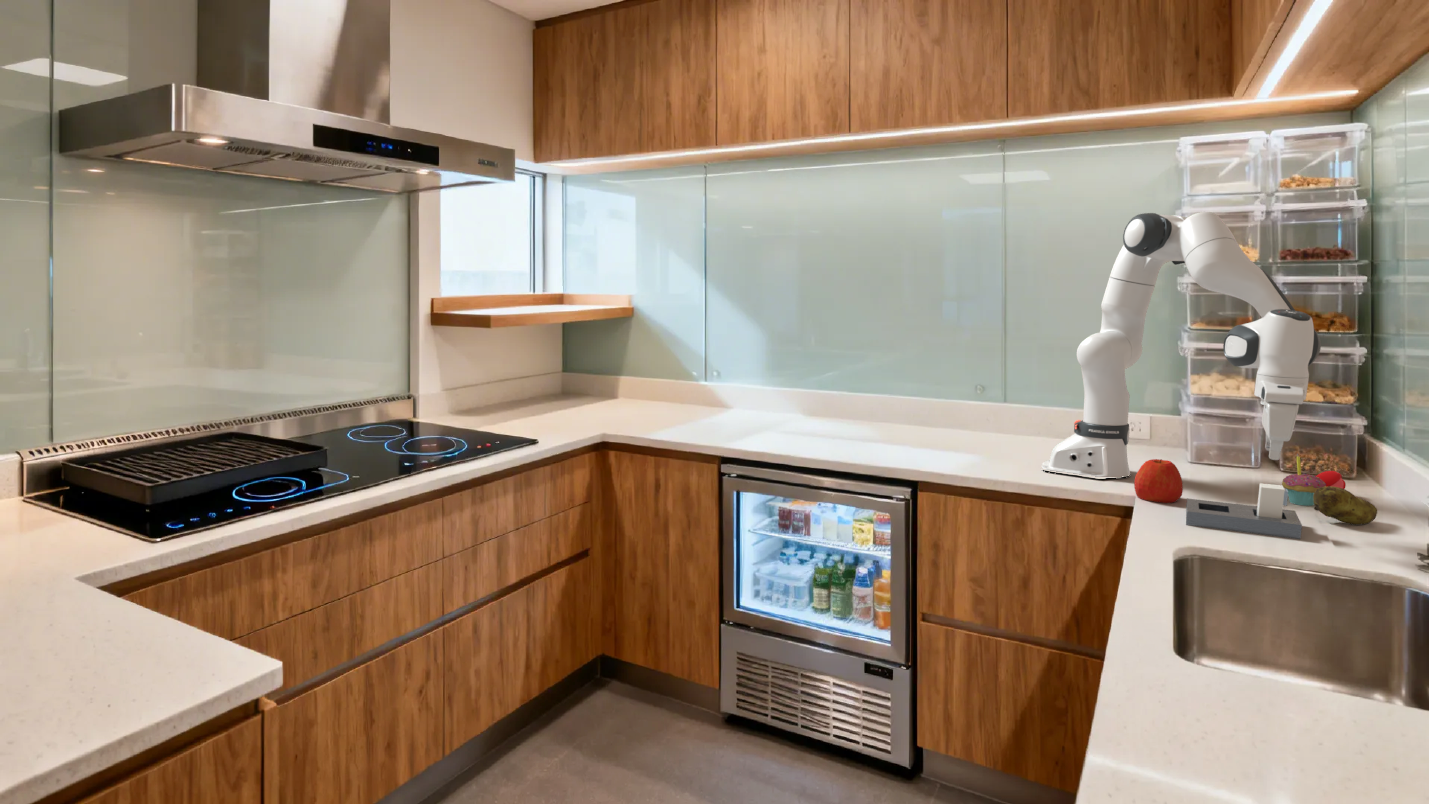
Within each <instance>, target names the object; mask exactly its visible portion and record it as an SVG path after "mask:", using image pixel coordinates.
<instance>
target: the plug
mask: <svg viewBox="0 0 1429 804" xmlns="http://www.w3.org/2000/svg"><path fill="white" fill-rule="evenodd" d="M1257 497H1258V499H1257V516H1262V517H1270V518H1279V519H1282V510H1283V509H1284V507H1285V506H1287V505H1288V498H1289V497H1288V491H1287V489H1286V488H1284V487H1283V486H1282V484H1281V485H1280V484H1269V483H1262V482H1260V483H1259V488H1258V496H1257Z"/></svg>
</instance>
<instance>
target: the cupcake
mask: <svg viewBox="0 0 1429 804" xmlns="http://www.w3.org/2000/svg"><path fill="white" fill-rule="evenodd" d="M1296 466H1297V467H1296V468H1297V473H1294V474H1293V473H1292V474H1288V475H1285V477H1284V478H1283V479H1282V482H1281V485H1282V486H1283V487H1284V489H1287V491H1288V497H1287V498H1288V502H1289V503H1291V504H1293V505H1297V506H1304V507H1305V506H1306V507H1309V506H1310V507H1311V506H1315V505H1314V502H1313V494H1314V493H1315V491H1316V490H1317V489H1320V488H1323V487H1326V484H1325V482H1324V481H1322V480H1321V479H1320V478H1318V477H1316V476H1317V475H1315V474H1309V473H1302V468H1301V466H1302V465H1301V457H1300V456H1299V453H1298V452H1297V453H1296Z"/></svg>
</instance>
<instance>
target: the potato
mask: <svg viewBox="0 0 1429 804" xmlns="http://www.w3.org/2000/svg"><path fill="white" fill-rule="evenodd" d="M1313 502H1314V505H1313V506H1314V508H1313V509H1314V511H1316V512H1320V513H1321V514H1322V515H1324V516H1326V517H1327V518H1332V519H1335V520H1336V521H1338V522H1341V523H1342V524H1343V523H1344V524H1347V525H1352V524H1353V525H1354V526H1362V525H1366V524H1369V523H1370V524H1371V522H1374V520H1376V518H1377V515H1378V509H1377V507H1376V506H1375V505H1374V503H1371V502H1370V501H1367V500H1366V499H1363V498H1360V497H1358V496H1356V495H1355V494H1353V493H1352V492H1350V491H1349V490H1347V489H1343V488H1339V487H1332V486H1328V487H1323V488H1320V489H1317V490H1316V491H1315V493H1314V494H1313ZM1361 524H1362V525H1361Z"/></svg>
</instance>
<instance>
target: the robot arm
mask: <svg viewBox="0 0 1429 804" xmlns="http://www.w3.org/2000/svg"><path fill="white" fill-rule="evenodd" d="M1122 241H1123V245H1122V246H1121V249H1120V250H1119V252H1118V254H1117V256H1116V258H1115V261H1114V263H1113V266H1112V268H1111V272H1110V274H1109V277H1108V281H1107V284H1106V288H1105V290H1104V294H1103V296H1102V301H1101V304H1100V309H1101V322H1100V323H1101V325H1100V330H1099V332H1096V333H1093V334H1092V333H1091V334H1090V335H1089V336H1088V337H1086V338H1085V339H1083V340H1082V341H1081V342H1080V344H1079V345H1078V347H1077V349H1076V359H1077V362H1078V364H1079V365H1080V368H1081V376H1082V383H1083V394H1084V396H1083V397H1084V398H1083V399H1084V401H1083V415H1082V420H1081V419H1076V420H1075V421H1074V422H1073V425H1074V426H1073V428H1074V429H1073V433H1072V434H1071V435H1070V436H1067V438H1064V439H1063V440H1062V441H1060V442H1059V443H1057V444H1056V445H1055V446H1054V447H1053V449H1051V450H1052V451H1051V453H1050V457H1049V459H1048V460H1045V461H1043V462H1042V463H1041V467H1042V468H1043V469H1046V470H1050V471H1056V472H1067V473H1073V474H1079V475H1091V476H1095V477H1122V476H1128V475H1130V474H1131V471H1130V466H1129V460H1128V458H1129V457H1128V444H1129V439H1130V423H1129V412H1130V411H1129V410H1130V393H1129V390H1128V388H1127V382H1126V381H1127V380H1126V373H1125V372H1126V369H1129V368H1131V367H1132V366H1134V365H1135V364H1136V363H1137V362H1138V361H1139V359H1140V358H1141V356H1142V354H1143V344H1142V343H1143V337H1144V331H1145V330H1144V329H1145V321H1146V317H1147V312H1148V308H1149V305H1150V302H1151V300H1152V295H1153V293H1154V290H1155V286H1156V284H1157V280H1158V277H1159V273H1160V270H1161V268H1162V267H1163V266H1164V265H1165V264H1166V263H1170V262H1171V263H1172V264H1173V265H1181V264H1185V266H1186V268H1187V271H1188V274H1189V275H1190V277H1191V278H1192V280H1193V281H1194V282H1195V283H1196V284H1197V285H1198V286H1200V287H1201V288H1203V289H1205V290H1207V291H1210V292H1214V293H1218V294H1223V295H1227V296H1230V297H1233V298H1237V299H1239V300H1242V301H1244V302H1246V303H1248V304H1249V305H1251V306H1252V307H1253V308H1254V309H1255V310H1256V312H1257V313H1258V315H1259V316H1260V318H1259V319H1256V320H1254V321H1250V322H1248V323H1247V322H1246V323H1243V324H1238V325H1235V326H1233V327H1232V328H1231V329H1230V330H1229V331H1228V332H1227V334H1226V335H1225V338H1224V340H1223V348H1222V349H1223V354H1224V357H1225V359H1226V360H1227V361H1228V363H1229V364H1231V366H1234V367H1238V368H1242V369H1257V372H1256V376H1255V377H1256V378H1255V385H1254V394H1253V395H1254V396H1255V397H1256V398H1260V405H1262V406H1263V409H1262V414H1261V425H1262V427H1263V429H1264V431H1265V446H1264V448H1265V450H1266V451H1267V452H1268V458H1269V460H1273V461H1278V460H1280V459H1281V454H1282V449H1283V446H1284V442H1289V441H1290V440H1291V438H1292V436H1293V434H1294V433H1293V432H1294V429H1295V428H1294V427H1295V424H1296V420H1297V416H1298V413H1299V408H1300V405H1303V403H1304V401H1305V400H1307V393H1308V385H1309V379H1310V378H1309V377H1310V372H1309V366H1311V365H1312V364H1313V363H1314V362H1315V361H1316V359H1317V358H1318V356H1319V355H1320V352H1321V350H1322V349H1321V348H1322V344H1321V338H1320V336H1319V334H1318V333H1317V331H1316V330H1315V327H1314V322H1313V318H1312V316H1311V315H1309V314H1308V313H1306V312H1303V311H1300V310H1296V309H1295V308H1294V307H1293V305H1292V304H1291V302H1290V300H1289V299H1288V298H1287V297H1286V296H1285V294H1284V293H1283V291H1282V290H1281V288H1280V287H1279V286H1278V285H1277V284H1276V282H1275V281H1274V280H1273V279H1272V277H1271V276H1270V275H1269V274H1268V273H1267V272H1266V271H1264V270H1263V269H1262V268H1260V267H1259V266H1258V265H1257V264H1256V263H1254V262H1253V261H1252V260H1251V259H1250V258H1249V257H1248V256H1247V254H1245V252H1244V251H1243V249H1242V248H1241V246H1240V245H1239V242H1238V241H1237V240H1236V237H1235V236H1234V234H1233V232H1232V231H1231V230H1230V227H1228V225H1227V224H1226V223H1225V222H1224V221H1223V219H1222V218H1221V217H1220V215H1218V214H1216V213H1214V212H1211V211H1201V212H1195V213H1194V214H1191V215H1190V216H1188V217H1186V216H1183V215H1177V214H1173V215H1171V214H1161V213H1160V214H1158V213H1156V212H1155V213H1154V212H1145V213H1144V212H1143V213H1140V214H1139V213H1138V214H1137V215H1135V216H1133V217H1132V218H1131V219H1129V221H1128V222H1127V224H1126V226H1125V228H1124V231H1123V234H1122ZM1041 467H1040V468H1041ZM1130 476H1131V475H1130Z"/></svg>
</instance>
